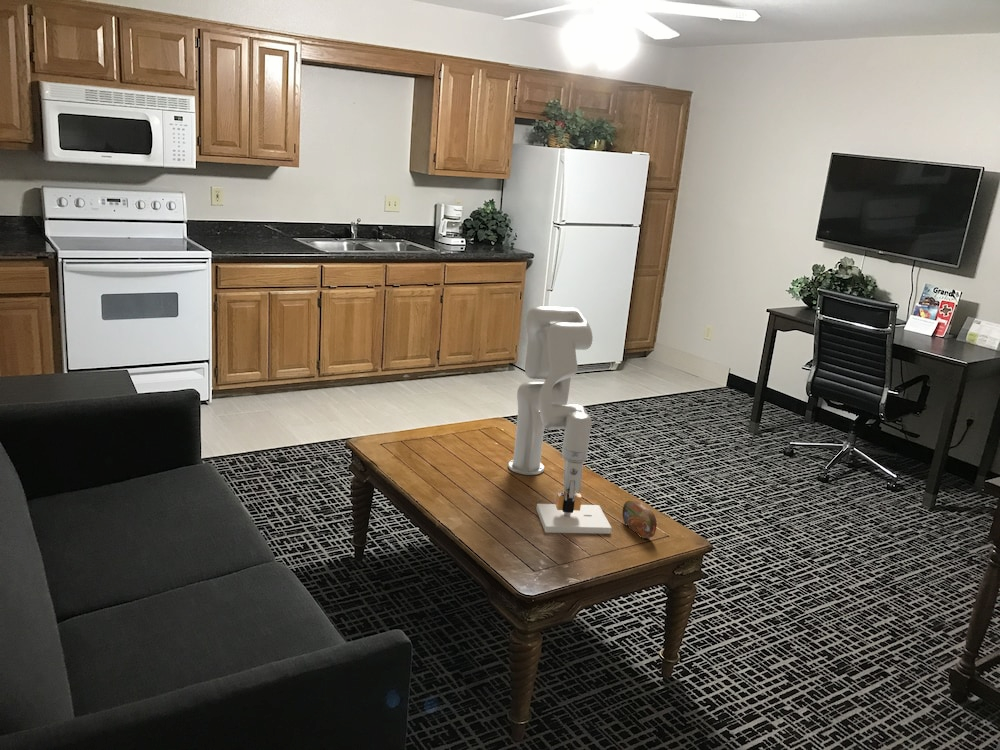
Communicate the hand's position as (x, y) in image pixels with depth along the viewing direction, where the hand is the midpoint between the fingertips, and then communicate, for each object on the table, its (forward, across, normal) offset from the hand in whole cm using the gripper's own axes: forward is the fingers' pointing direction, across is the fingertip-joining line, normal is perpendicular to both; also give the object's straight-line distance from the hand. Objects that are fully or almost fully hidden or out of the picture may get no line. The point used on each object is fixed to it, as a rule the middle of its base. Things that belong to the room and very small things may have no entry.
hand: (567, 508), depth 244 cm
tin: (+5, -2, -22) cm, 22 cm away
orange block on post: (0, 0, 0) cm, 0 cm away
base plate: (+4, 0, -2) cm, 5 cm away
